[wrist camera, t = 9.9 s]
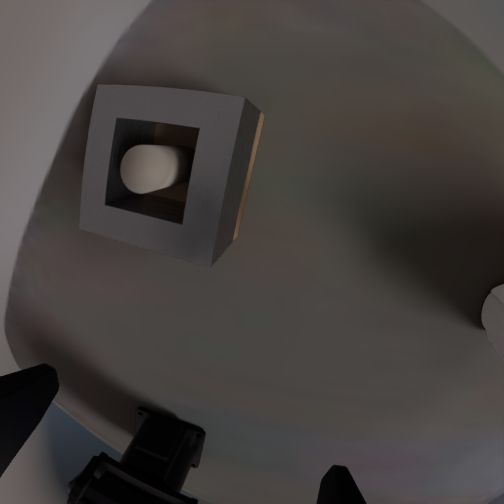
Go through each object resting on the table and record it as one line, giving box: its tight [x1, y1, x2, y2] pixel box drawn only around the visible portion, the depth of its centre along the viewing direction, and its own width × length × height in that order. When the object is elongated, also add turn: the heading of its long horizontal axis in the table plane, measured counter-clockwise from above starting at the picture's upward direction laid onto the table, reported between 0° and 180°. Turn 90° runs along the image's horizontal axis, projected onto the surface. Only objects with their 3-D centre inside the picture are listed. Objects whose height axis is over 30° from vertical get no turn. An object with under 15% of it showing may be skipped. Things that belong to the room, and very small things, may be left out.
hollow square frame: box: [79, 84, 261, 267], centre depth 14 cm, size 7×7×4 cm
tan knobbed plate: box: [120, 112, 265, 240], centre depth 15 cm, size 7×7×6 cm
